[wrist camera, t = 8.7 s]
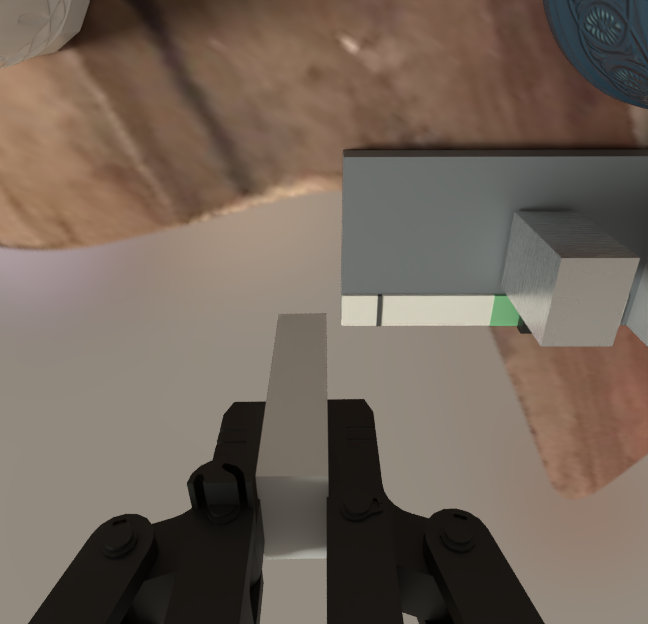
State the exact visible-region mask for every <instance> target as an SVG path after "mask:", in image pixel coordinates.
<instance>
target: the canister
mask: <svg viewBox="0 0 648 624" xmlns="http://www.w3.org/2000/svg"><path fill="white" fill-rule="evenodd" d="M543 4H544V9H545V13H546V17H547V20H548V23H549V26H550V29H551V31H552V34H553V36H554V38H555V40H556V42H557V44H558V46H559V48H560V49H561V51H562V52H563V54H564V55H565V57H566V58H567V60H568V61H569V62H570V63H571V64H572V66H573V67H574V68H575V69H576V70H577V71H578V72H579V73H580V74H581V75H582V76H583V77H584V78H585V79H586V80H587V81H588V82H590V83H591V84H592V85H593V86H595V87H596V88H597V89H599V90H600V91H602V92H603V93H605V94H607V95H609V96H611V97H612V98H614V99H617V100H619V101H622V102H624V103H627V104H631V105H634V106H638V107H641V108H645V109H648V0H543Z"/></svg>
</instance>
